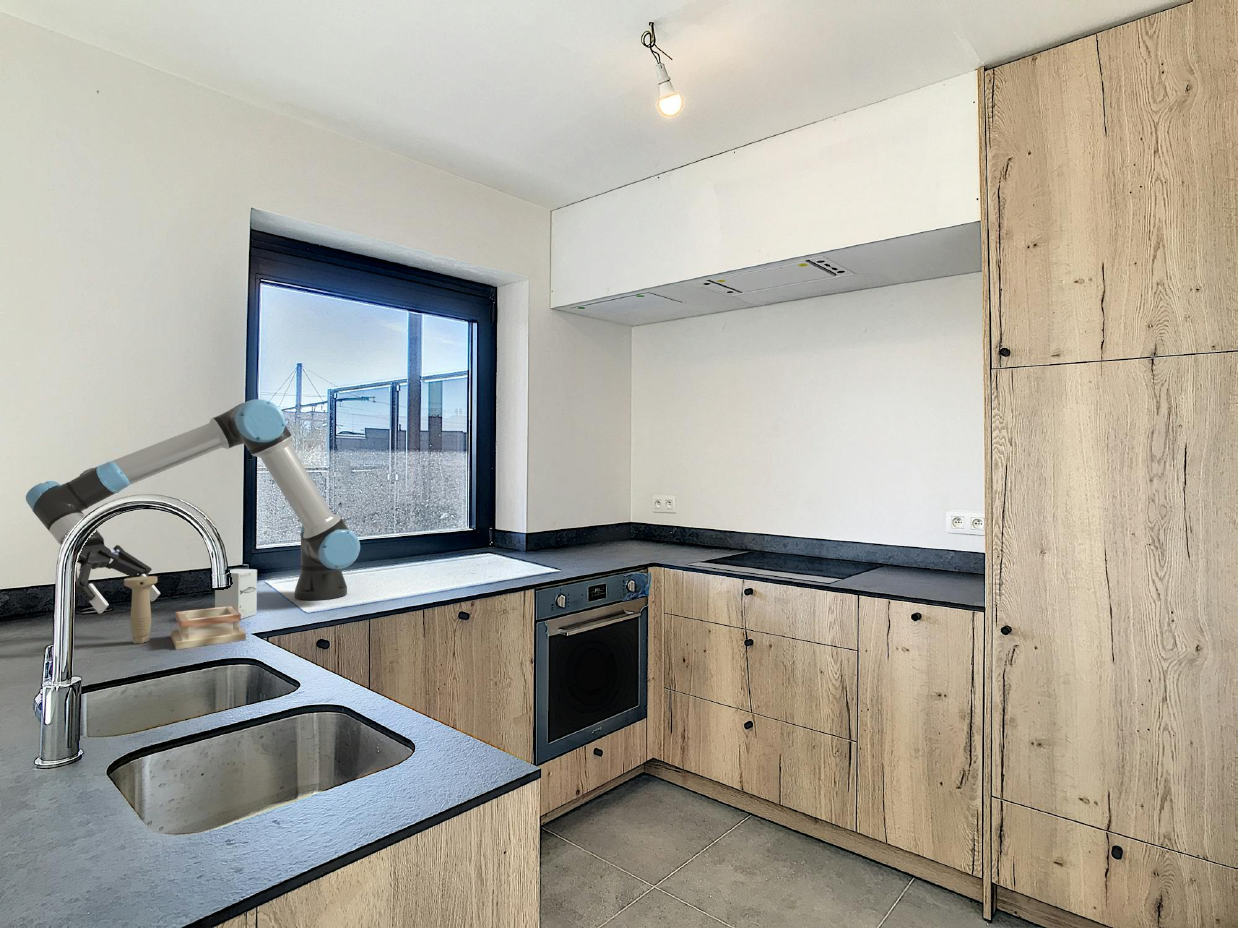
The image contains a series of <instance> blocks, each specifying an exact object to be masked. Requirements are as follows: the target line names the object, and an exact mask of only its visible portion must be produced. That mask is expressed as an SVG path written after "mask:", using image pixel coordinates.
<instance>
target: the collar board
mask: <svg viewBox="0 0 1238 928" xmlns="http://www.w3.org/2000/svg"><path fill="white" fill-rule="evenodd" d="M174 613H175V615H174V616H175V621H176V622H177V629H173V630H172V629H171V630H170V638H171V641H172V643H173V646H174V648H175V650H182V649H183V650H184V649H190V648H191V649H192V648H196V647H197V648H199V647H205V646H204V645H206V646H213V645H219V644H226V643H233V642H241V641H242V642H243V641H247V634H246V632H245V630H243V628H242V627H241V626H240V624H239V623H240V622H241V621H242V619H241V614H240V613H239V612H238V611H237V610H236V609H235V608H234V606H226V607H216V608H215V607H209V608H200V609H189V610H183V611H175V612H174Z"/></svg>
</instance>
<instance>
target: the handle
mask: <svg viewBox="0 0 1238 928" xmlns="http://www.w3.org/2000/svg"><path fill="white" fill-rule="evenodd" d="M157 583H158V576H156V575H152V576H149V575H148V576H145V577H134V578H133V577H127V578H124V579H123V585H124V586H125V587H127V588H129V589H131V607H130V623H129V624H130V633H131V638H132V643H133V644H136V645H137V644H140V645H141V644H144V642H145V643H148V642H149V641H150V634H151V629H152V628H151V627H152V610H151V601H150V593H149V591H150V587H151V586H152V585H154V586H155V585H156V584H157Z"/></svg>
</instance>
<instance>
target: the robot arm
mask: <svg viewBox="0 0 1238 928" xmlns="http://www.w3.org/2000/svg"><path fill="white" fill-rule="evenodd" d="M292 438H293V435H292V433H291V431H290V430H289V428H288V426H287V425H286V417H285V414H284V413H283V411H282V410H281V408H280V407H279V406H278V405H277V404H275V403H274V402H271V401H269V400H265V399H261V398H260V399H259V398H258V399H257V398H256V399H251V400H248V401H245V402H242V403H239V404H238V405H236V406H234V407H232V408H230V409H229V410H227V411H226V412H223V413H221V414H219V415H217V416H215V417H212V418H210V419H209V422H208V423H206V424H203V425H201V426H198V427H196V428H192V429H190V430H188V431H185V432H183V433H180V434H178V435H174V436H173V437H169V438H167V439H164V440H162V441H160V442H157V443H154V444H152V445H149V446H147V447H144V448H141V449H139V450H137V451H134V452H132V453H128V454H126V455H123V456H121V457H118V458H116V459H113V460H111V461H107V462H105V463H102V464H99V465H97V466H95V467H90V468H88V469H86V470H83V472H81V473H80V474H79V475H78V476H77V477H75V478H74V479H72V480H70V481H68V482H65V483H63V484H60V483H59V482H57V481H54V480H49V481H48V480H47V481H45V482H40V483H37V484H35V485H34V486H33V487H31V488H30V489H29V490H28V491H27V493H26V495H25V501H26V503H27V504H28V507H29V508H30V509H31V511H32V512H33V514H35V516H36V517H37V518H38V520H39V521H40V523H42V525H43V526H44V527H45V528H46V529H47V530H48V532H49V533H50V534H51V535H52V536H53V538H54V539H55V540H56V542H57V543H58V544H59V545H60V546H61V544H62V542H63V540H64V538H65V535H67V533H68V532H69V530H70V529H71V528H72V527H73V526H74V525H75V524H77V522H78V521H79V520H81V519H82V518H83V517H84V516H86V515H85V514H84V513H83V511H85V510H87V509H89V508H90V507H92V506H94V505H96V504H98V503H100V502H101V501H104V500H106V499H108V498H110V497H112V496H113V495H115V494H118V493H120V492H121V491H123V490H124V489H126V488H128V487H129V486H131V485H133V484H136V483H138V482H140V481H143V480H146V479H147V478H151V477H152V476H155V475H157V474H161V473H163V472H165V471H167V470H170V469H172V468H175V467H178V466H179V465H182V464H185V463H187V462H190V461H192V460H195V459H197V458H199V457H202V456H204V455H206V454H207V455H208V454H210V453H212V452H215V451H217V450H220V449H221V448H222V449H227V450H229V449H231V448H234V447H236V446H240V445H243V444H244V445H245V447H246V448H247V450H248V451H249V454H251V455H252V456H253V457H258V458H260V460H261V461H262V462H263V464H264V466H265V467H266V469H267V470H268V472H269V474H270V475H271V477H272V479H273V480H274V483H276V485H277V487H278V488H279V490H280V491H281V493H282V495H283V496H284V498H285V499H286V501H287V502H288V504H289V506H290V508H291V509H292V511H293V512H294V514H295V515H296V517H297V519H298V520H299V522H300V524H301V526H300V530H301V531H300V534H299V536H300V574H299V578H298V580H297V582H296V586H295V589H294V598H295V599H297V600H303V601H304V600H305V601H320V600H321V601H322V600H332V599H338V598H342V597H344V596H346V595H348V586H347V583H346V580H345V578H344V574H343V572H342V569H345V568H348V567H349V566H351V565H352V564H353V563H354V562H356V560H357V559H358V556H359V554H360V551H361V544H360V543H361V542H360V540H359V538H358V536H357V535H356V534H355V533H354V532H353V531H351V530H349V528H348V527H347V525H346V523H345V521H344V520H343V518H342V517H341V515H337V514H335V513H333V512H332V510H331V509H330V507H329V506H328V504H327V502H326V501H325V499H324V497H323V496H322V494H321V492H320V490H319V489H318V487H317V485H316V484H315V483H314V480H313V479H312V478H311V476H310V474H309V473H308V471H307V469H306V467H305V466H304V463H302V461H301V459H300V457H299V456H298V454H297V452H296V450H295V449H294V448H293V446H292V445H291V441H292ZM111 559H112V560H111ZM76 563H78V564H79V565H80V566H79V569H77V568H76V594H75V595H79V594H80V595H81V596H82V597H83V599H84V600H86V601H87V602H89V603H90V604H91V606H92V607H93V608H94V610H95V611H96V612H97V613H98V614H103V612H104V611H106V609H107V608H108V607H109V606H110V605H109V603H108V601H107V600H106V599H105V598H104V596H103V595H102V594H101V593H100V592H99V590H98V589H97V588H96V586H95V585H94V584H93V583H89V579H90V575H91V571H92V570H96V569H102V568H104V569H105V568H106V569H109V570H110V569H112V570H114V571H117V572H120V574H121V573H122V574H124V575H126V576H129V578H134V577H145V576H149V574H150V573H151V572H152V570H153V569H152V568H151V567H150V566H149V565H148V564H146V563H144V562H142V561H141V560H139V559H138V558H136V557H134V556H133V555H132V554H131V553H128V552H127V551H125V549H123V548H122V547H121V546H120V545H118V544H116V545H115V546H113V548H108V547H107V546H106V545H105V539H104V537H103V535H102V534H101V533H100V532H99V531H98V530H97V529H96V532H95V533H93V535H91V537H90V538H88V540H87V542H86V543H85V545H84V546H83V548H82V551H81V553H80V555H79V558H78V561H77V562H76ZM78 571H79V574H78ZM88 583H89V584H88ZM149 593H150V602H154V601H155V600H156V599H157V598H158V597H159V596H160V595H161V592H160V591H159V590H158V588H157V587H156V586H155V584H154V585H152V586H151V587H150V591H149Z"/></svg>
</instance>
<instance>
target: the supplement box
mask: <svg viewBox="0 0 1238 928" xmlns="http://www.w3.org/2000/svg"><path fill="white" fill-rule="evenodd" d="M229 570H230V573H231V577H232V582H233V584H232V585H231V587H230V588H228V589H224V590H215V589H214V608H216V607H226V606H234V608H235V609H236V610H237V611H238V612H239V613H240V614H241V620H242V619H245V618H246V619H247V618H249V617H252V616H256V615H257V612H258V611H257V609H258V607H257V605H258V593H257V592H258V570H257V569H253V568H249V569H248V568H233V569H229Z"/></svg>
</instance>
